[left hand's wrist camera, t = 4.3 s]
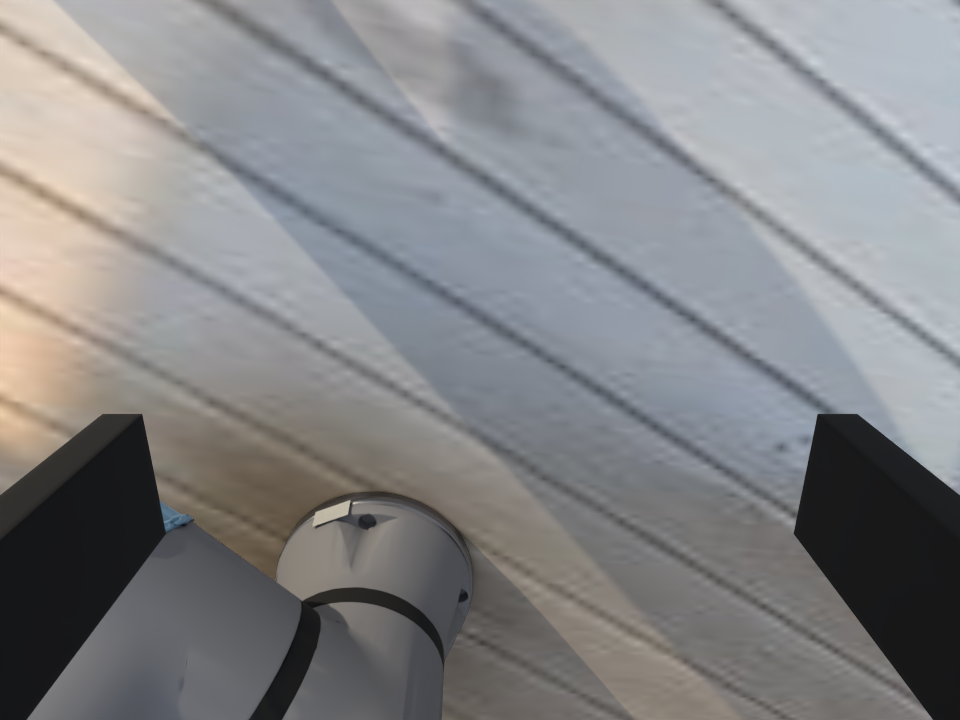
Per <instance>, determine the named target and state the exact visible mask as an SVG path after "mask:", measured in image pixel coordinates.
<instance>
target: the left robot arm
mask: <svg viewBox="0 0 960 720" xmlns="http://www.w3.org/2000/svg"><path fill="white" fill-rule="evenodd" d="M193 521H194V519H193V518H192V517H191V516H189V515H188V514H184V515H182V514H180V513H179V512H177V511H175V510H174V509H172V508H171V507H169V506H167V505H166V504H164V503H163V502H161V501H160V500H159V495H158V490H157V485H156V480H155V476H154V471H153V466H152V461H151V456H150V451H149V446H148V441H147V436H146V431H145V426H144V421H143V416H142V414H102V415H101V416H100V417H98V418H97V419H96V420H95V421H93V422H92V423H91V424H90V425H88V426H87V427H86V428H85V429H83V430H82V431H81V432H80V433H78V434H77V435H76V436H75V437H73V438H72V439H71V440H69V441H68V442H67V443H66V444H64V445H63V446H62V447H61V448H59V449H58V450H57V451H56V452H54V453H53V454H52V455H51V456H49V457H48V458H47V459H46V460H44V461H43V462H42V463H40V464H39V465H38V466H37V467H35V468H34V469H33V470H32V471H30V472H29V473H28V474H27V475H25V476H24V477H23V478H22V479H20V480H19V481H18V482H17V483H15V484H14V485H13V486H12V487H10V488H9V489H8V490H6V491H5V492H4V493H3V494H1V495H0V720H441V718H442V697H443V676H444V675H443V673H444V660H445V658H446V656H447V654H448V652H449V650H450V648H451V646H452V644H453V642H454V640H455V638H456V636H457V634H458V632H459V630H460V629H461V627H462V625H463V623H464V620H465V618H466V616H467V613H468V610H469V607H470V604H471V599H472V588H473V571H472V563H471V558H470V555H469V552H468V549H467V547H466V545H465V543H464V541H463V539H462V538H461V536H460V535H459V533H458V532H457V530H456V529H455V528H454V527H453V526H452V525H451V524H450V523H449V522H448V521H447V520H446V519H445V518H444V517H443V516H441V515H440V514H439V513H437V512H436V511H434V510H433V509H431V508H430V507H428V506H426V505H424V504H422V503H420V502H418V501H415V500H413V499H410V498H407V497H404V496H400V495H395V494H390V493H382V492H362V493H354V494H349V495H344V496H341V497H338V498H334V499H332V500H330V501H327V502H325V503H323V504H321V505H319V506H318V507H316V508H315V509H313V510H312V511H310V512H309V513H308V514H307V515H305V516H304V517H303V518H302V519H301V520H300V521H299V522H298V524H297V525H296V526H295V528H294V529H293V530H292V532H291V534H290V535H289V537H288V539H287V542H286V544H285V546H284V548H283V550H282V553H281V555H280V558H279V561H278V564H277V570H276V581H274V580H273V579H271V578H270V577H269V576H267V575H266V574H264V573H263V572H262V571H260V570H259V569H257V568H256V567H255V566H253V565H252V564H250V563H249V562H247V561H246V560H245V559H243V558H242V557H240V556H239V555H238V554H236V553H235V552H233V551H232V550H231V549H229V548H228V547H226V546H225V545H224V544H222V543H221V542H219V541H218V540H217V539H215V538H214V537H212V536H211V535H210V534H208V533H207V532H206V531H204V530H203V529H202V528H200V527H199V526H198V525H196V524H195V523H193ZM794 535H795V536H796V537H797V539H798V540H799V541H800V543H801V544H802V545H803V547H804V548H805V549H806V551H807V552H808V553H809V555H810V556H811V557H812V559H813V560H814V561H815V563H816V564H817V565H818V567H819V568H820V569H821V571H822V572H823V573H824V575H825V576H826V577H827V579H828V580H829V581H830V583H831V584H832V585H833V587H834V588H835V589H836V591H837V592H838V593H839V595H840V596H841V597H842V599H843V600H844V601H845V603H846V604H847V605H848V607H849V608H850V609H851V611H852V612H853V613H854V615H855V616H856V617H857V619H858V620H859V621H860V623H861V624H862V625H863V627H864V628H865V629H866V631H867V632H868V633H869V635H870V636H871V637H872V639H873V640H874V641H875V643H876V644H877V645H878V647H879V648H880V649H881V651H882V652H883V653H884V655H885V656H886V657H887V659H888V660H889V661H890V663H891V664H892V665H893V667H894V668H895V669H896V671H897V672H898V673H899V675H900V676H901V677H902V679H903V680H904V681H905V683H906V684H907V685H908V687H909V688H910V689H911V691H912V692H913V693H914V695H915V696H916V697H917V699H918V700H919V701H920V703H921V704H922V705H923V707H924V708H925V709H926V711H927V712H928V713H929V715H930V716H931V717H932V719H933V720H960V495H959V494H957V493H956V492H955V491H954V490H952V489H951V488H950V487H948V486H947V485H946V484H945V483H943V482H942V481H941V480H940V479H938V478H937V477H936V476H935V475H933V474H932V473H931V472H930V471H928V470H927V469H926V468H925V467H923V466H922V465H921V464H920V463H918V462H917V461H916V460H914V459H913V458H912V457H911V456H909V455H908V454H907V453H906V452H904V451H903V450H902V449H901V448H899V447H898V446H897V445H896V444H894V443H893V442H892V441H891V440H889V439H888V438H887V437H885V436H884V435H883V434H882V433H880V432H879V431H878V430H877V429H875V428H874V427H873V426H872V425H870V424H869V423H868V422H867V421H865V420H864V419H863V418H862V417H860V416H859V415H858V414H818V416H817V421H816V426H815V431H814V436H813V441H812V446H811V451H810V456H809V461H808V466H807V471H806V476H805V480H804V485H803V490H802V495H801V500H800V505H799V510H798V515H797V520H796V525H795V530H794Z"/></svg>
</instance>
